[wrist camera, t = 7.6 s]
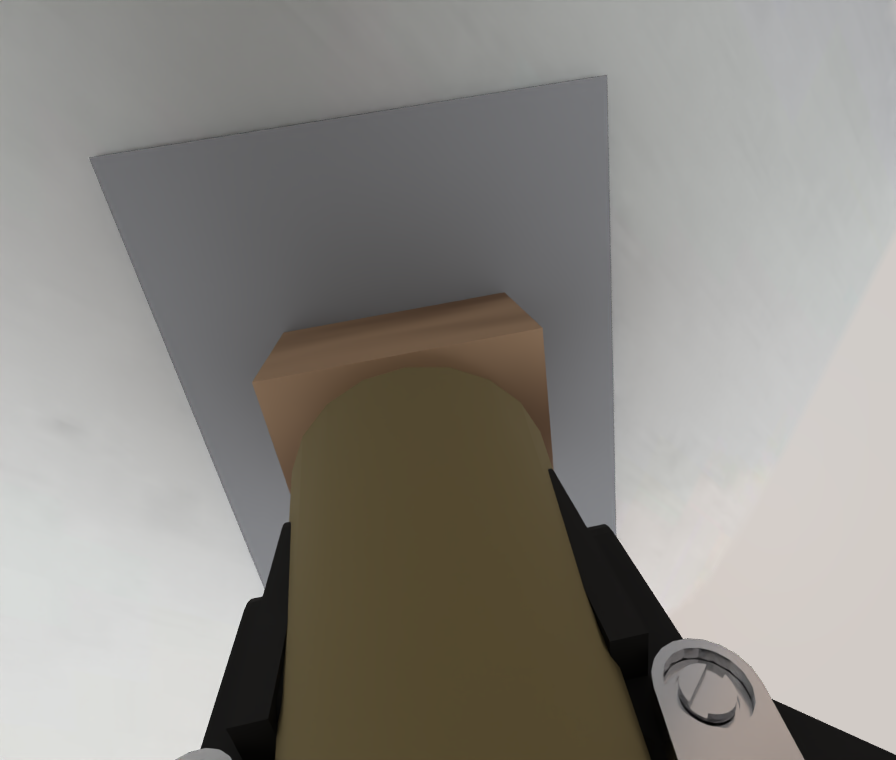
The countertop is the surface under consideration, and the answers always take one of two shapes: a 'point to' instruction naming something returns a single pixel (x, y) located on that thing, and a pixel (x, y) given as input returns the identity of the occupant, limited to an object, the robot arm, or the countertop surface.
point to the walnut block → (401, 361)
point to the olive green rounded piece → (439, 588)
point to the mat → (378, 259)
